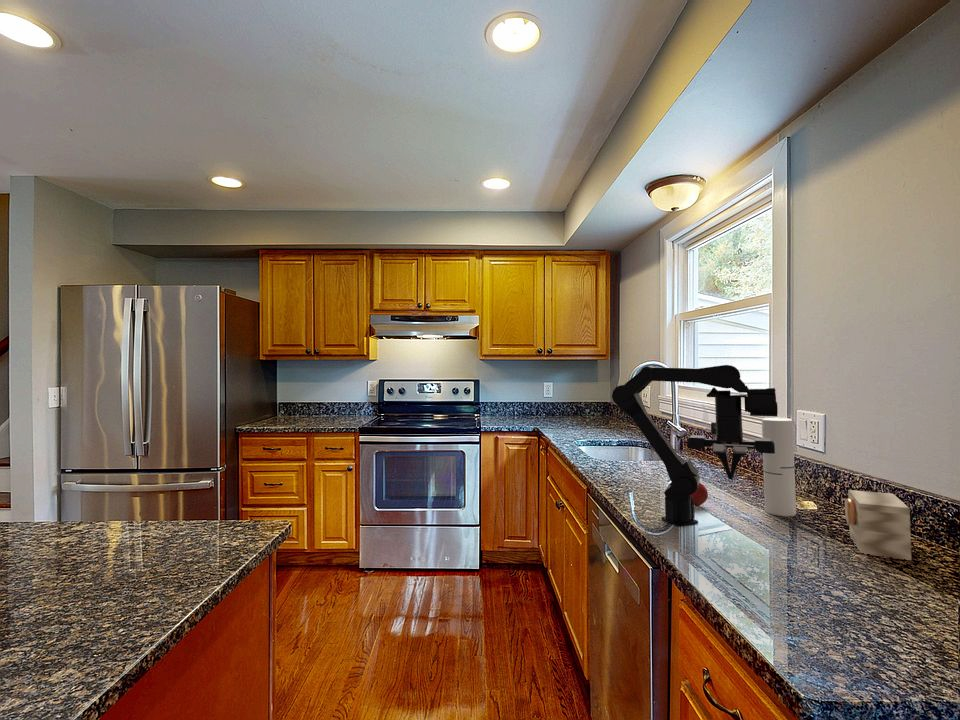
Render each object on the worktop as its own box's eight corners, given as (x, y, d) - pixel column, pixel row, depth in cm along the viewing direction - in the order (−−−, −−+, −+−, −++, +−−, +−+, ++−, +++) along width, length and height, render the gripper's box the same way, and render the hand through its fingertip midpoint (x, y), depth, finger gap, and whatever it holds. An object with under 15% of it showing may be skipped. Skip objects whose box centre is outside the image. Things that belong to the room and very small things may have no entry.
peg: (850, 528, 102) (849, 502, 102) (845, 520, 107) (844, 495, 107) (905, 534, 98) (904, 507, 98) (898, 526, 103) (897, 500, 103)
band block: (861, 553, 99) (859, 503, 99) (849, 535, 109) (848, 489, 109) (911, 560, 95) (909, 507, 95) (894, 540, 105) (892, 493, 106)
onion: (684, 508, 133) (684, 479, 133) (686, 502, 138) (685, 475, 138) (707, 510, 130) (706, 481, 130) (708, 505, 135) (707, 477, 135)
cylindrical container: (801, 516, 123) (797, 420, 124) (771, 515, 125) (767, 420, 125) (789, 508, 130) (785, 418, 131) (760, 507, 132) (757, 418, 132)
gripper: (771, 413, 119) (773, 475, 118) (690, 411, 128) (692, 469, 127) (773, 418, 109) (776, 485, 109) (686, 415, 118) (688, 478, 118)
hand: (730, 479), depth 116 cm, fingers closed
